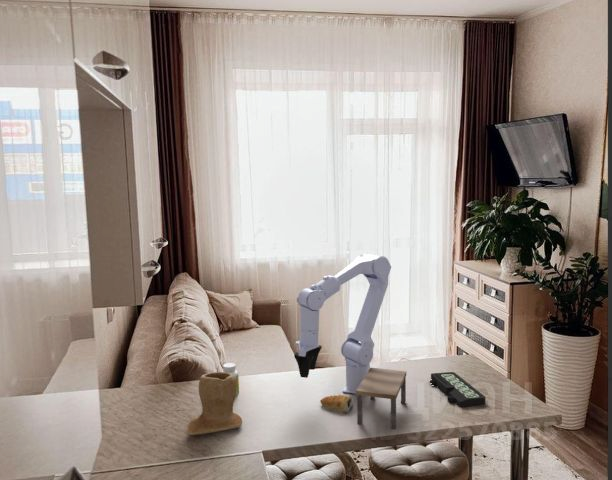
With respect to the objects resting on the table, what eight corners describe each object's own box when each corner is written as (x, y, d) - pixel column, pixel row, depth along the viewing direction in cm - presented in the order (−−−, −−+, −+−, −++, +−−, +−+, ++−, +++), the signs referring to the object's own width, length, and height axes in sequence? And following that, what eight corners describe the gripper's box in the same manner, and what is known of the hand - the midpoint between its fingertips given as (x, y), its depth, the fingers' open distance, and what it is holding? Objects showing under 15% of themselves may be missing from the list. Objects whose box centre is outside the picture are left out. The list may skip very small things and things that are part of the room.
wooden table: (370, 397, 161) (370, 367, 160) (406, 401, 157) (406, 371, 156) (356, 423, 144) (356, 390, 143) (396, 429, 141) (395, 395, 139)
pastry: (317, 409, 154) (317, 397, 154) (325, 400, 161) (325, 388, 160) (347, 414, 151) (347, 402, 150) (354, 405, 157) (354, 393, 156)
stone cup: (237, 413, 153) (235, 364, 151) (245, 432, 142) (243, 379, 140) (184, 422, 148) (182, 371, 146) (188, 442, 137) (185, 387, 135)
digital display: (425, 372, 173) (453, 370, 175) (425, 382, 173) (453, 379, 175) (455, 399, 152) (486, 396, 154) (454, 409, 153) (486, 406, 154)
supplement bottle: (237, 397, 164) (236, 368, 163) (220, 397, 164) (219, 368, 163) (240, 390, 169) (239, 361, 168) (223, 390, 169) (222, 362, 168)
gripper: (303, 322, 164) (301, 364, 165) (289, 333, 150) (287, 379, 151) (324, 324, 162) (323, 366, 163) (312, 335, 148) (311, 382, 149)
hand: (307, 372), depth 157 cm, fingers open, 7 cm apart
